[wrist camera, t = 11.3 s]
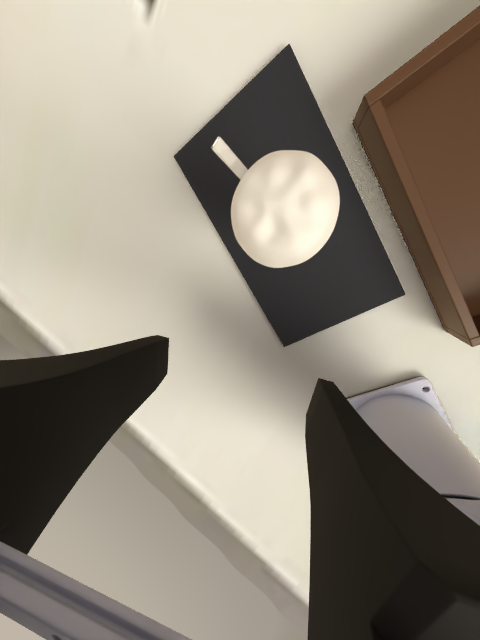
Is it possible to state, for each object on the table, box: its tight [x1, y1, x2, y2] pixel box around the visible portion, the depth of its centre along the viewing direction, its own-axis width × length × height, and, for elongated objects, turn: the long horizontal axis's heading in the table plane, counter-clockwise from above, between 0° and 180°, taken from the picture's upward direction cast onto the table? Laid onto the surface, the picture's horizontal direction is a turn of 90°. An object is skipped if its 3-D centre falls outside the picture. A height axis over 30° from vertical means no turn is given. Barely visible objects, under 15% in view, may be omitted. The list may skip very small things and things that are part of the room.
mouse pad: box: [174, 44, 405, 347], centre depth 17 cm, size 18×10×1 cm, turn 32°
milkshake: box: [211, 136, 340, 268], centre depth 12 cm, size 4×5×10 cm
